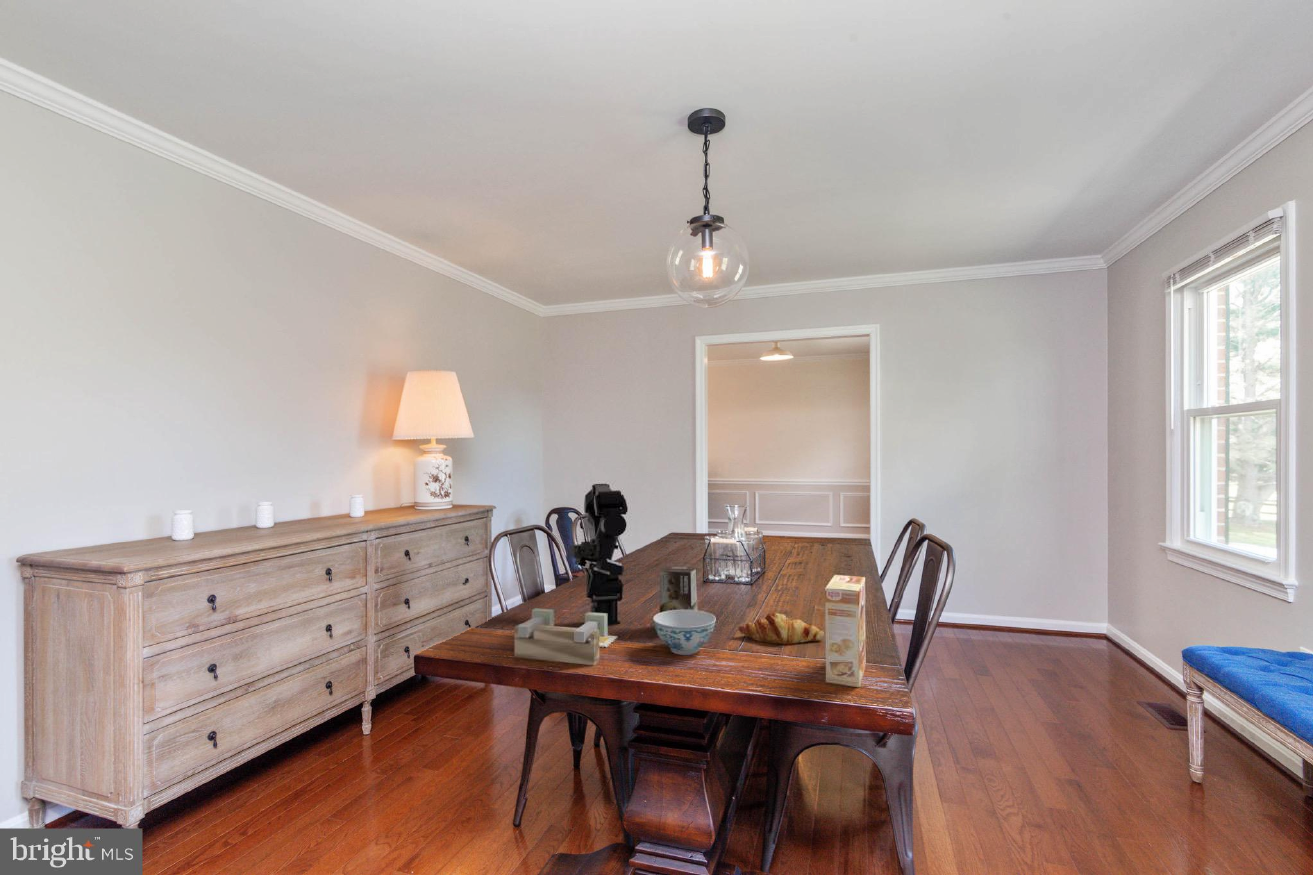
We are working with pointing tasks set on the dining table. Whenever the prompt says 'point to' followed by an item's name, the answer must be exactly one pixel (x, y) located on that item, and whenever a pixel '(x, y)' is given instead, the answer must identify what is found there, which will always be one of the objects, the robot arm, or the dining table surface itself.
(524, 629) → the button
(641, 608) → the dining table surface
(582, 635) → the button
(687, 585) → the coffee box
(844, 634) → the coffeecake box
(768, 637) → the croissant
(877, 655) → the dining table surface
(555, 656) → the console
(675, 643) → the chinaware
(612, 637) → the card
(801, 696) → the dining table surface
